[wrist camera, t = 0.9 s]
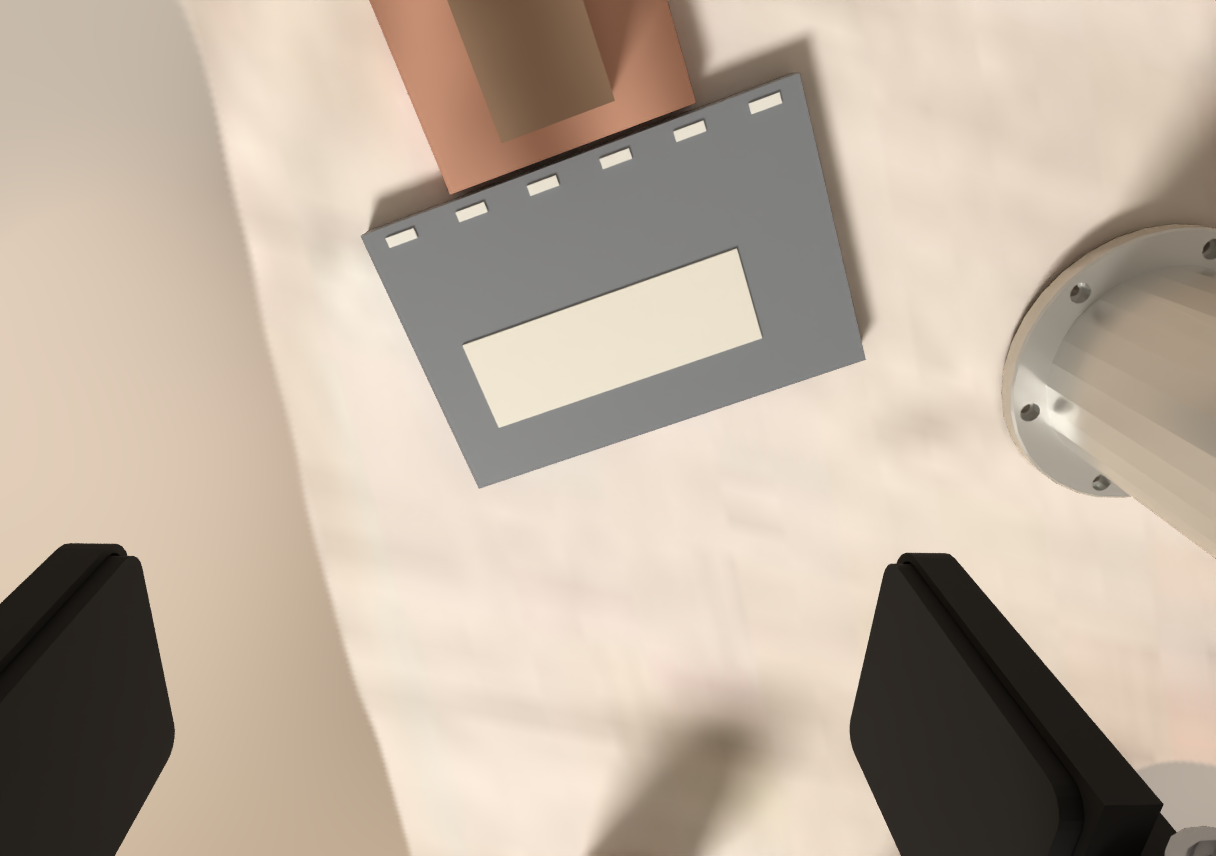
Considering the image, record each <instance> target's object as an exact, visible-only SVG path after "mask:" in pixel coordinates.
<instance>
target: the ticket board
mask: <svg viewBox="0 0 1216 856" xmlns="http://www.w3.org/2000/svg"><path fill="white" fill-rule="evenodd" d="M361 238H362V240H363V242H364V244H365V247H366V249H367V251H368V253H369V255H370V257H371V259H372V261H373V264H374V266H375V268H376V270H377V272H378V274H379V276H380V279H381V281H382V283H383V285H384V287H385V289H386V291H387V293H388V296H389V298H390V300H391V302H392V304H393V306H394V308H395V311H396V313H397V315H398V317H399V319H400V321H401V323H402V325H403V328H404V330H405V332H406V334H407V336H408V338H409V340H410V343H411V345H412V347H413V349H414V351H415V353H416V355H417V358H418V360H419V362H420V364H421V366H422V368H423V370H424V372H425V375H426V377H427V379H428V381H429V383H430V385H431V387H432V390H433V392H434V394H435V396H436V398H437V400H438V402H439V404H440V407H441V409H442V411H443V413H444V415H445V417H446V419H447V422H448V424H449V426H450V428H451V430H452V432H453V434H454V436H455V439H456V441H457V443H458V445H459V447H460V449H461V451H462V454H463V456H464V458H465V460H466V462H467V464H468V466H469V468H470V471H471V473H472V475H473V477H474V479H475V481H476V483H477V486H478V488H482V487H485V486H488V485H491V484H494V483H497V482H500V481H503V480H506V479H509V478H512V477H515V476H518V475H521V474H524V473H527V472H530V471H533V470H536V469H539V468H542V467H545V466H548V465H551V464H554V463H557V462H560V461H563V460H566V459H569V458H572V457H575V456H578V455H581V454H584V453H587V452H590V451H593V450H596V449H599V448H602V447H605V446H608V445H611V444H614V443H617V442H620V441H623V440H626V439H629V438H632V437H635V436H638V435H641V434H644V433H647V432H650V431H653V430H656V429H659V428H662V427H665V426H668V425H671V424H674V423H677V422H680V421H683V420H686V419H689V418H692V417H695V416H698V415H701V414H704V413H707V412H710V411H713V410H716V409H719V408H722V407H725V406H728V405H731V404H734V403H737V402H740V401H743V400H746V399H749V398H752V397H755V396H758V395H761V394H764V393H767V392H770V391H773V390H776V389H779V388H782V387H785V386H788V385H791V384H794V383H797V382H800V381H803V380H806V379H809V378H812V377H815V376H818V375H821V374H824V373H827V372H830V371H833V370H836V369H839V368H842V367H845V366H848V365H851V364H854V363H857V362H860V361H863V360H866V359H865V355H864V350H863V346H862V342H861V337H860V333H859V329H858V324H857V320H856V316H855V311H854V307H853V303H852V298H851V294H850V290H849V285H848V281H847V277H846V272H845V268H844V264H843V259H842V255H841V251H840V246H839V242H838V238H837V233H836V229H835V225H834V220H833V216H832V212H831V207H830V203H829V199H828V194H827V190H826V186H825V181H824V177H823V173H822V168H821V164H820V160H819V155H818V151H817V147H816V142H815V138H814V134H813V129H812V125H811V121H810V116H809V112H808V108H807V103H806V99H805V95H804V90H803V86H802V82H801V77H800V73H791V74H788V75H785V76H783V77H780V78H777V79H775V80H772V81H769V82H767V83H764V84H761V85H759V86H756V87H753V88H750V89H748V90H745V91H742V92H740V93H737V94H734V95H732V96H729V97H726V98H724V99H721V100H718V101H716V102H713V103H710V104H708V105H705V106H702V107H700V108H697V109H694V110H691V111H689V112H686V113H683V114H681V115H678V116H675V117H673V118H670V119H667V120H665V121H662V122H659V123H657V124H654V125H651V126H649V127H646V128H643V129H640V130H638V131H635V132H632V133H630V134H627V135H624V136H622V137H619V138H616V139H614V140H611V141H608V142H606V143H603V144H600V145H598V146H595V147H592V148H590V149H587V150H584V151H581V152H579V153H576V154H573V155H571V156H568V157H565V158H563V159H560V160H557V161H555V162H552V163H549V164H547V165H544V166H541V167H539V168H536V169H533V170H530V171H528V172H525V173H522V174H520V175H517V176H514V177H512V178H509V179H506V180H504V181H501V182H498V183H496V184H493V185H490V186H488V187H485V188H482V189H480V190H477V191H474V192H471V193H469V194H466V195H463V196H461V197H458V198H455V199H453V200H450V201H447V202H445V203H442V204H439V205H437V206H434V207H431V208H429V209H426V210H423V211H420V212H418V213H415V214H412V215H410V216H407V217H404V218H402V219H399V220H396V221H394V222H391V223H388V224H386V225H383V226H380V227H378V228H375V229H372V230H370V231H367V232H366V233H364V234H363V235H362V236H361Z"/></svg>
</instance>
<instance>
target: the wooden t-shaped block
mask: <svg viewBox="0 0 1216 856" xmlns="http://www.w3.org/2000/svg"><path fill="white" fill-rule="evenodd" d="M369 1H370V3H371V5H372V8H373V10H374V13H375V15H376V17H377V20H378V22H379V25H380V27H381V29H382V32H383V34H384V37H385V39H386V41H387V44H388V46H389V49H390V51H391V54H392V56H393V58H394V61H395V63H396V66H397V68H398V70H399V73H400V75H401V78H402V80H403V82H404V85H405V87H406V90H407V92H408V94H409V97H410V99H411V102H412V104H413V106H414V109H415V111H416V114H417V116H418V119H419V121H420V123H421V126H422V128H423V131H424V133H425V135H426V138H427V140H428V143H429V145H430V147H431V150H432V152H433V155H434V157H435V159H436V162H437V164H438V167H439V169H440V171H441V174H442V176H443V179H444V181H445V184H446V186H447V188H448V191H449V193H450V195H451V194H453V193H456V192H459V191H461V190H464V189H467V188H469V187H472V186H475V185H477V184H480V183H483V182H485V181H488V180H491V179H493V178H496V177H499V176H501V175H504V174H507V173H509V172H512V171H515V170H517V169H520V168H523V167H525V166H528V165H531V164H534V163H536V162H539V161H542V160H544V159H547V158H550V157H552V156H555V155H558V154H560V153H563V152H566V151H568V150H571V149H574V148H576V147H579V146H582V145H584V144H587V143H590V142H592V141H595V140H598V139H600V138H603V137H606V136H608V135H611V134H614V133H617V132H619V131H622V130H625V129H627V128H630V127H633V126H635V125H638V124H641V123H643V122H646V121H649V120H651V119H654V118H657V117H659V116H662V115H665V114H667V113H670V112H673V111H675V110H678V109H681V108H683V107H686V106H689V105H691V104H694V103H696V101H695V97H694V94H693V90H692V87H691V83H690V80H689V76H688V73H687V69H686V65H685V62H684V58H683V55H682V51H681V48H680V44H679V41H678V37H677V34H676V30H675V26H674V23H673V19H672V16H671V12H670V9H669V5H668V2H667V0H369Z"/></svg>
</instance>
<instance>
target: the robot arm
mask: <svg viewBox="0 0 1216 856" xmlns="http://www.w3.org/2000/svg"><path fill="white" fill-rule="evenodd" d="M1072 289H1073V290H1072ZM1071 290H1072V291H1071ZM1001 395H1002V404H1003V414H1004V418H1005V421H1006V424H1007V427H1008V430H1009V433H1010V436H1011V438H1012V440H1013V441H1014V443H1015V444H1016V446H1017V447H1018V449H1019V450H1020V452H1021V454H1022V455H1023V456H1024V457H1025V458H1026V459H1027V460H1028V461H1029V462H1030V463H1031V464H1032V465H1033V466H1034V467H1035V468H1037V469H1038V470H1039V471H1040V472H1042V473H1043V474H1044V475H1046V476H1047V477H1048V478H1050V479H1051V480H1052V481H1054V482H1055V483H1056V484H1059V485H1061V486H1063V487H1065V488H1068V489H1070V490H1072V491H1075V492H1077V493H1081V494H1086V495H1090V496H1094V497H1113V498H1126V497H1133V498H1134V499H1136V500H1137V501H1138V502H1140V503H1141V504H1142V505H1144V506H1145V507H1146V508H1148V509H1149V510H1150V511H1152V512H1153V513H1155V514H1156V515H1157V516H1159V517H1160V518H1161V519H1163V520H1164V521H1165V522H1167V523H1168V524H1169V525H1171V526H1172V527H1173V528H1175V529H1176V530H1177V531H1179V532H1180V533H1182V534H1183V535H1184V536H1186V537H1187V538H1188V539H1190V540H1191V541H1192V542H1194V543H1195V544H1196V545H1198V546H1199V547H1200V548H1202V549H1203V550H1204V551H1206V552H1207V553H1209V554H1210V555H1211V556H1213V557H1214V558H1215V559H1216V229H1215V228H1211V227H1206V226H1201V225H1182V224H1170V225H1164V226H1157V227H1150V228H1144V229H1141V230H1138V231H1135V232H1132V233H1129V234H1126V235H1123V236H1120V237H1117V238H1115V239H1113V240H1111V241H1109V242H1107V243H1105V244H1104V245H1102V246H1100V247H1098V248H1096V249H1094V250H1092V251H1090V252H1088V253H1087V254H1086V255H1084V256H1083V257H1082V258H1080V259H1079V260H1078V261H1076V262H1075V263H1074V264H1072V265H1071V266H1070V267H1068V268H1067V269H1066V270H1064V271H1063V272H1062V273H1061V274H1060V275H1059V276H1058V277H1057V278H1056V279H1055V280H1054V281H1053V282H1052V283H1051V284H1050V285H1049V286H1048V287H1047V288H1046V289H1045V290H1044V291H1043V292H1042V293H1041V295H1040V296H1039V297H1038V299H1037V300H1036V302H1035V303H1034V304H1033V306H1032V307H1031V309H1030V310H1029V311H1028V313H1027V314H1026V315H1025V317H1024V319H1023V321H1022V323H1021V325H1020V327H1019V329H1018V331H1017V333H1016V335H1015V337H1014V339H1013V341H1012V343H1011V346H1010V349H1009V353H1008V356H1007V359H1006V363H1005V366H1004V372H1003V381H1002V391H1001ZM174 735H175V729H174V722H173V717H172V712H171V707H170V702H169V697H168V693H167V687H166V682H165V677H164V672H163V668H162V663H161V658H160V653H159V648H158V643H157V639H156V633H155V628H154V623H153V618H152V613H151V608H150V604H149V599H148V594H147V589H146V584H145V579H144V574H143V569H142V566H141V562H140V561H139V559H138V558H137V557H135V556H127V553H126V551H125V550H124V548H123V547H122V546H120V545H118V544H82V543H81V544H80V543H74V544H73V543H70V544H64V545H62V546H61V547H59V548H58V549H57V550H56V551H55V552H54V553H53V554H52V555H50V556H49V557H48V558H47V559H46V560H45V561H44V562H43V563H42V564H41V565H40V566H39V567H38V568H37V569H36V570H35V571H34V572H33V573H32V574H31V575H30V576H29V577H28V578H27V579H26V580H25V581H23V582H22V583H21V584H20V585H19V586H18V587H17V588H16V589H15V590H14V591H13V592H12V593H11V594H10V595H9V596H8V597H7V598H6V599H5V600H4V601H3V602H2V603H1V604H0V856H115V854H116V852H117V851H118V849H119V847H120V845H121V843H122V842H123V840H124V838H125V836H126V834H127V833H128V831H129V829H130V827H131V825H132V824H133V822H134V820H135V818H136V816H137V815H138V813H139V811H140V809H141V807H142V806H143V804H144V802H145V800H146V799H147V797H148V795H149V793H150V791H151V790H152V788H153V786H154V784H155V782H156V781H157V779H158V777H159V775H160V773H161V772H162V770H163V768H164V766H165V764H166V763H167V761H168V758H169V756H170V754H171V751H172V748H173V743H174ZM850 739H851V744H852V748H853V751H854V753H855V756H856V758H857V760H858V762H859V764H860V767H861V769H862V771H863V773H864V775H865V778H866V780H867V782H868V784H869V786H870V789H871V791H872V793H873V795H874V797H875V800H876V802H877V804H878V806H879V808H880V810H881V813H882V815H883V817H884V819H885V821H886V824H887V826H888V828H889V830H890V832H891V835H892V837H893V839H894V841H895V843H896V846H897V848H898V850H899V852H900V854H901V856H1216V828H1214V827H1207V826H1200V827H1191V828H1184V829H1182V830H1181V831H1179V832H1176V831H1175V830H1174V829H1173V827H1172V826H1171V825H1170V824H1169V823H1168V821H1167V820H1166V819H1165V818H1164V817H1163V815H1162V814H1161V813H1160V811H1161V809H1162V807H1163V803H1162V802H1161V801H1160V799H1159V798H1158V797H1157V796H1156V795H1155V794H1154V793H1153V791H1152V790H1151V789H1150V788H1149V787H1148V785H1147V784H1146V783H1145V782H1144V781H1143V780H1142V778H1141V777H1140V776H1139V775H1138V774H1137V772H1136V771H1135V770H1134V769H1133V768H1132V766H1131V765H1130V764H1129V763H1128V762H1127V761H1126V759H1125V758H1124V757H1123V756H1122V755H1121V754H1120V752H1119V751H1118V750H1117V749H1116V748H1115V746H1114V745H1113V744H1112V743H1111V742H1110V741H1109V739H1108V738H1107V737H1106V736H1105V735H1104V734H1103V732H1102V731H1101V730H1100V729H1099V728H1098V726H1097V725H1096V724H1095V723H1094V722H1093V721H1092V719H1091V718H1090V717H1089V716H1088V715H1087V713H1086V712H1085V711H1084V710H1083V709H1082V708H1081V706H1080V705H1079V704H1078V703H1077V702H1076V701H1075V699H1074V698H1073V697H1072V696H1071V695H1070V693H1069V692H1068V691H1067V690H1066V689H1065V688H1064V686H1063V685H1062V684H1061V683H1060V682H1059V681H1058V679H1057V678H1056V677H1055V676H1054V675H1053V673H1052V672H1051V671H1050V670H1049V669H1048V668H1047V666H1046V665H1045V664H1044V663H1043V662H1042V660H1041V659H1040V658H1039V657H1038V656H1037V655H1036V653H1035V652H1034V651H1033V650H1032V649H1031V648H1030V646H1029V645H1028V644H1027V643H1026V642H1025V640H1024V639H1023V638H1022V637H1021V636H1020V635H1019V633H1018V632H1017V631H1016V630H1015V629H1014V628H1013V626H1012V625H1011V624H1010V623H1009V622H1008V620H1007V619H1006V618H1005V617H1004V616H1003V615H1002V613H1001V612H1000V611H999V610H998V609H997V607H996V606H995V605H994V604H993V603H992V602H991V600H990V599H989V598H988V597H987V596H986V595H985V593H984V592H983V591H982V590H981V589H980V587H979V586H978V585H977V584H976V583H975V582H974V580H973V579H972V578H971V577H970V576H969V575H968V573H967V572H966V571H965V570H964V569H963V567H962V566H961V565H960V564H959V563H958V562H957V560H956V559H955V558H954V557H953V556H951V555H950V554H946V553H905V554H903V555H901V556H900V558H899V559H898V561H897V564H890V565H888V566H887V567H886V569H885V572H884V575H883V579H882V583H881V588H880V592H879V597H878V601H877V605H876V610H875V614H874V619H873V623H872V627H871V632H870V636H869V641H868V645H867V649H866V654H865V658H864V663H863V667H862V671H861V676H860V680H859V685H858V689H857V693H856V698H855V702H854V707H853V711H852V715H851V720H850Z"/></svg>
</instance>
